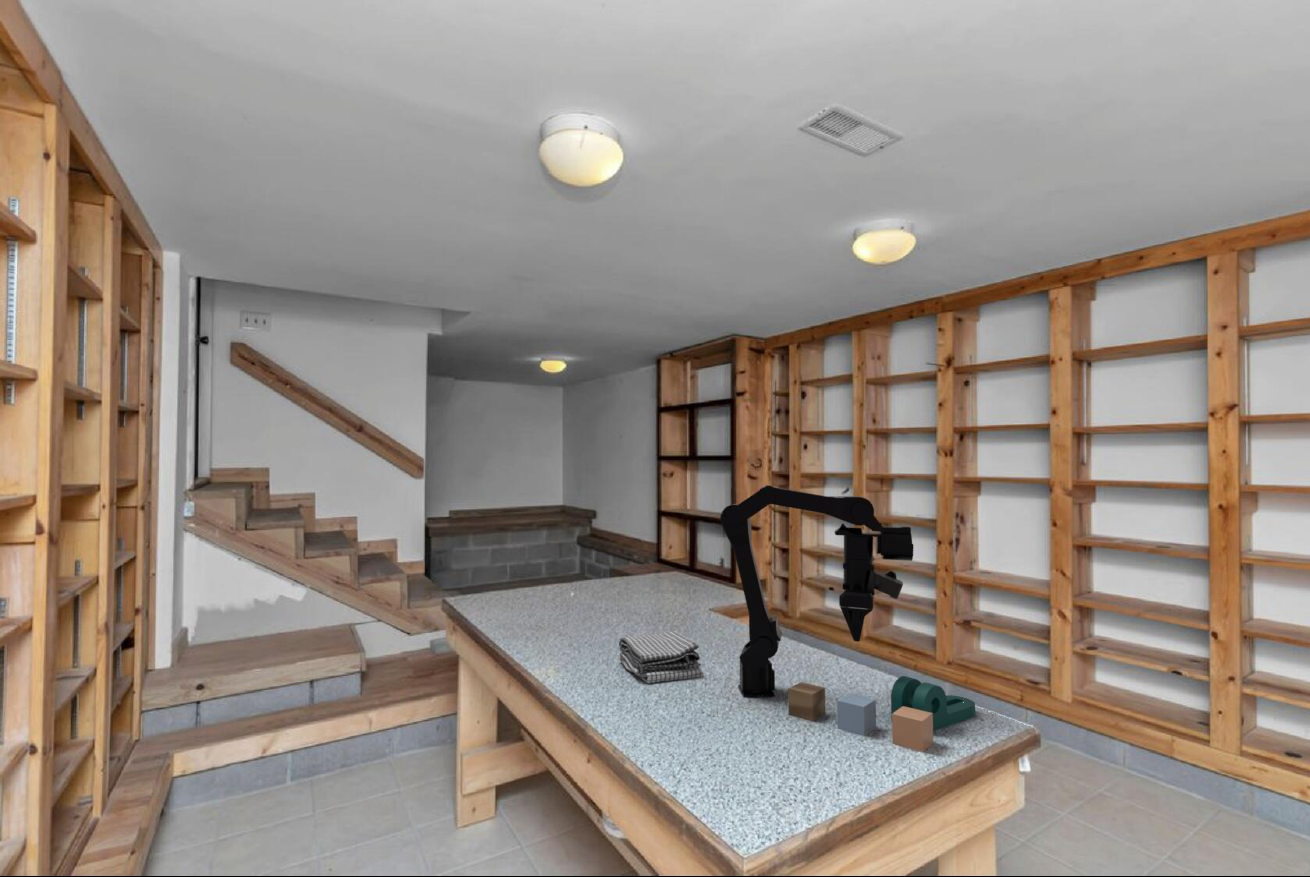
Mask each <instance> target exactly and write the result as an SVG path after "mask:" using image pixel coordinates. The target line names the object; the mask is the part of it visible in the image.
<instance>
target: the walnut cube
mask: <svg viewBox="0 0 1310 877" xmlns="http://www.w3.org/2000/svg"><path fill="white" fill-rule="evenodd" d="M787 694H788V716H792V717H795V718H798V719H802V720H806V721H810V722H814V721H816V720H818V719H820V718H821V717H823V716H825V715H826V688H825V687H824V686H821V685H820V686H819V685H815V684H811V683H807V682H802V681H801V682H798V683H797V684H795V685H792V686H790V687H788V693H787Z"/></svg>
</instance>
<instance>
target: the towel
mask: <svg viewBox="0 0 1310 877" xmlns="http://www.w3.org/2000/svg"><path fill="white" fill-rule="evenodd" d="M618 647H619V650H620V653H619V661H620V662H621V664H622V666H624V667H625V668H626V670H627V671H629V672H631V673H632V674H634V675H635V676H637V677H639V678H640V679H641V680H642V681H643V682H644V683H646V684H654V683H660V682H668V681H677V680H687V679H694V678H702V677H704V671H703V669H702V668H701V666H702V663H701V662H698V661H699V660H700V659H701V657H700V655H699V652H697V651H695V650H697V649H699V645H698V644H697V642H696V641H694V640H691V639H690V638H688V637H686V636H685V635H684V634H681V633H679V632H678V631H676V630H674V631H673V630H670V631H665V632H662V633H655V634H654V633H647V634H641V635H634V636H633V635H631V636H623V637H620V639H619V642H618Z"/></svg>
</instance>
